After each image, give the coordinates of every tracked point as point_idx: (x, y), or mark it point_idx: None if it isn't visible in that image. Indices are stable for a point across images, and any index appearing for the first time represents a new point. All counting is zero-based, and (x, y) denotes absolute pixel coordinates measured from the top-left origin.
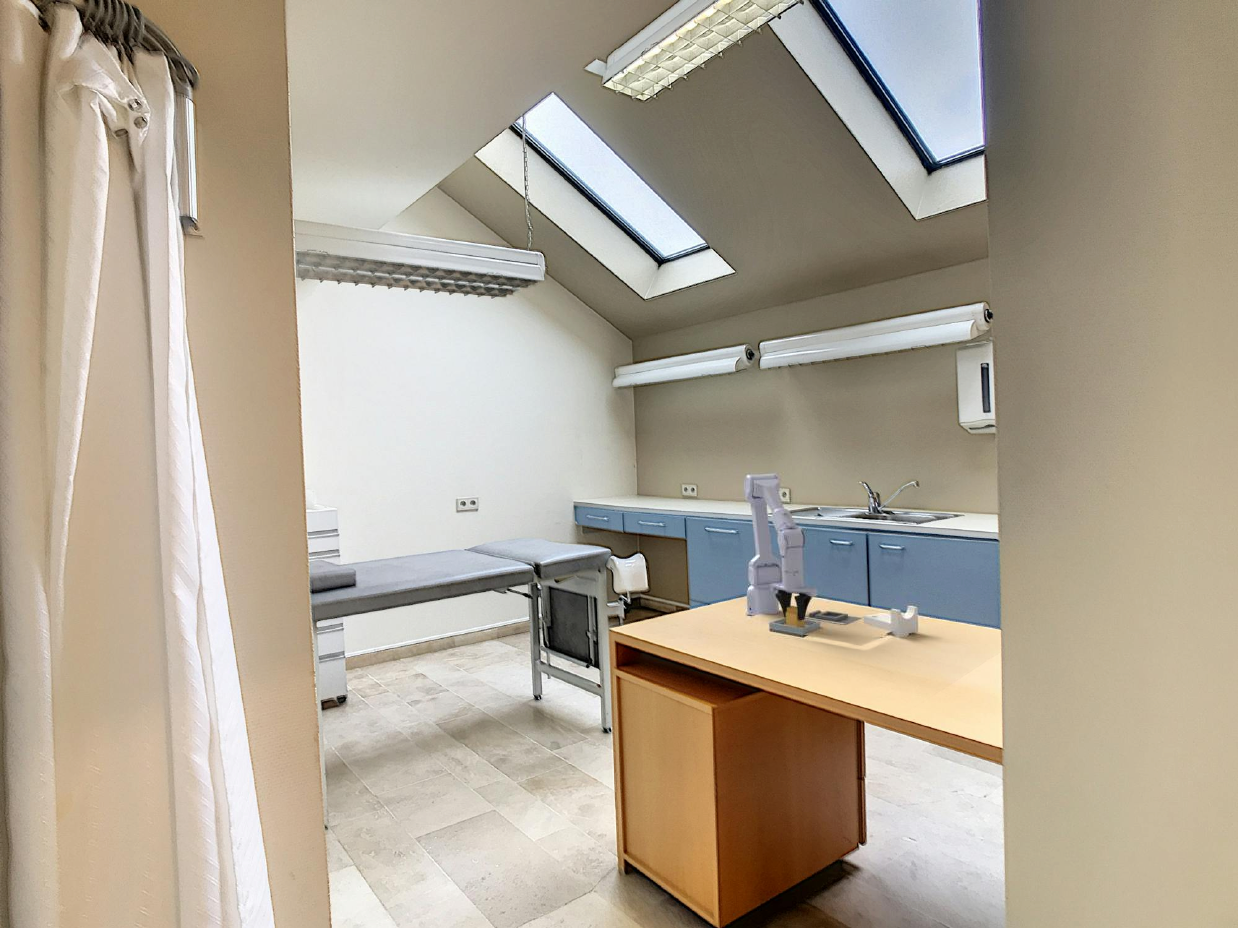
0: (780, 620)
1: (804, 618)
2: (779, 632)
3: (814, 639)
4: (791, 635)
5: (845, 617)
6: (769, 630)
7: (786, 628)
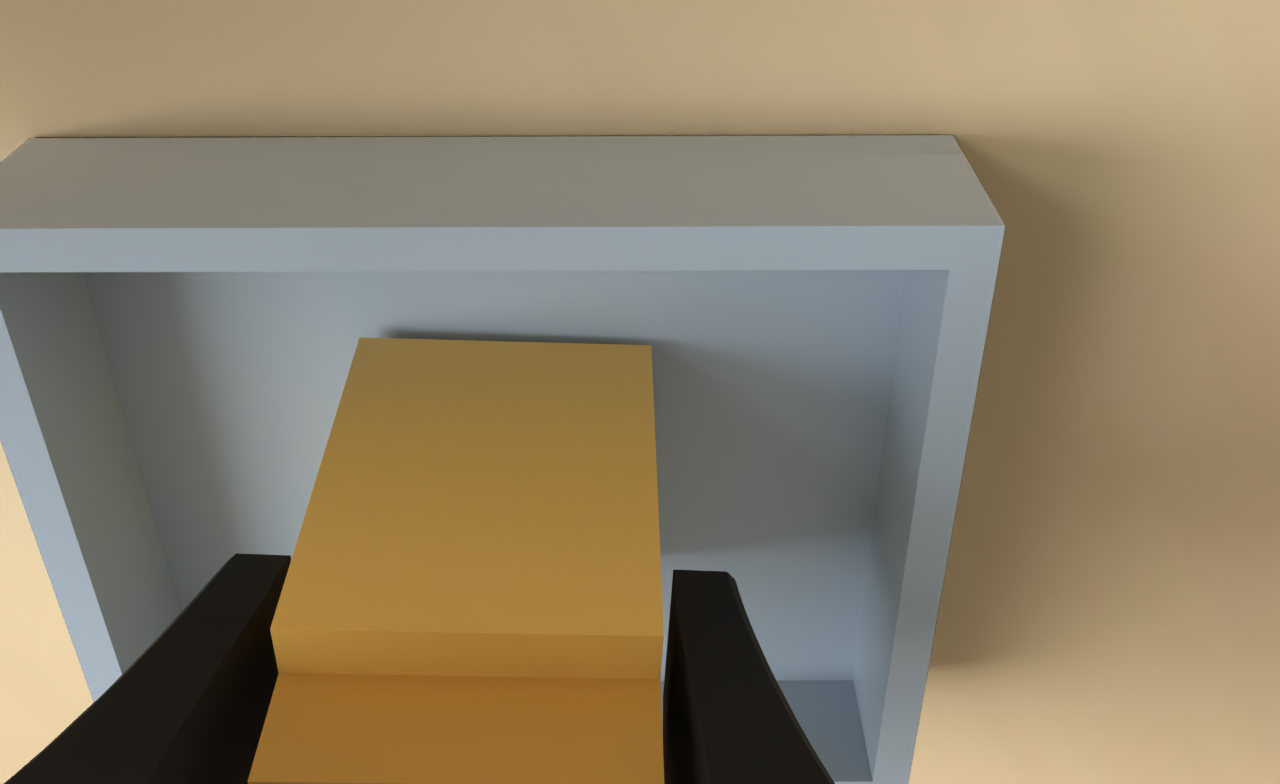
0: (87, 522)
1: (736, 595)
2: None
3: (1085, 651)
4: None
5: None
6: None
7: None
